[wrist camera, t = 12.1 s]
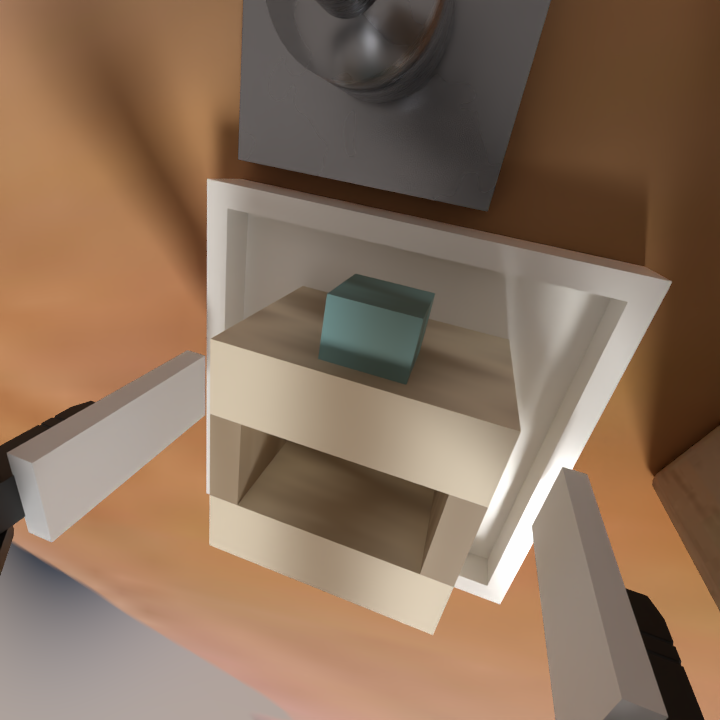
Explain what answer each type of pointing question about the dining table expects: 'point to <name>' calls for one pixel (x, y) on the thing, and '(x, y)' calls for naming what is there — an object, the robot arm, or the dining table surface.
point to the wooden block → (696, 505)
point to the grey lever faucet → (387, 90)
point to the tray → (451, 322)
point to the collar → (358, 443)
